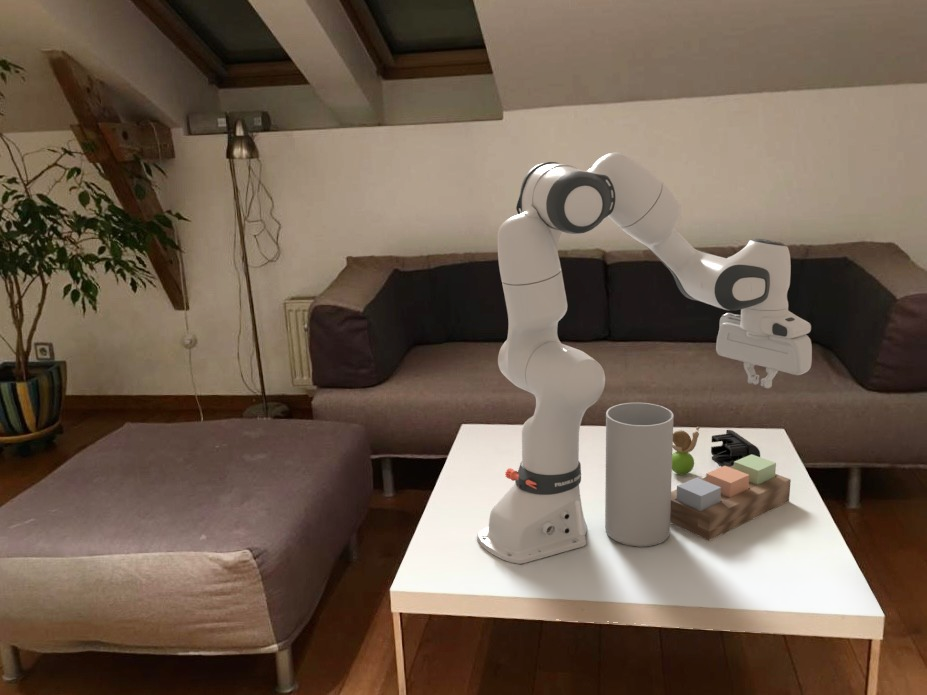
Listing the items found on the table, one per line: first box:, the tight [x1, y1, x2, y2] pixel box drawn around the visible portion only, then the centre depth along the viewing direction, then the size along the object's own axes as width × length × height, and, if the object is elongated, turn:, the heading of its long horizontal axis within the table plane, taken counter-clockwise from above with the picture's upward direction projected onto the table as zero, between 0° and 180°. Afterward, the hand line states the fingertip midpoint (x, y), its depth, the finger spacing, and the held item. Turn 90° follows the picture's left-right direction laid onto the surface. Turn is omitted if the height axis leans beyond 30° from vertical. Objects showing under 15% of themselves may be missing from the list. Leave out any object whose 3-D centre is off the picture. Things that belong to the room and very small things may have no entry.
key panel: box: [670, 465, 792, 542], centre depth 171 cm, size 26×12×5 cm, turn 125°
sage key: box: [734, 454, 777, 485], centre depth 175 cm, size 6×6×4 cm
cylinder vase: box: [604, 402, 675, 548], centre depth 161 cm, size 12×12×25 cm
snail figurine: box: [672, 426, 700, 476], centre depth 187 cm, size 5×6×12 cm
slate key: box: [676, 477, 721, 511], centre depth 165 cm, size 6×6×4 cm
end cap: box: [710, 429, 761, 467], centre depth 192 cm, size 10×7×7 cm
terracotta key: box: [705, 466, 749, 498], centre depth 170 cm, size 6×6×4 cm
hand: (759, 385), depth 170 cm, fingers closed
